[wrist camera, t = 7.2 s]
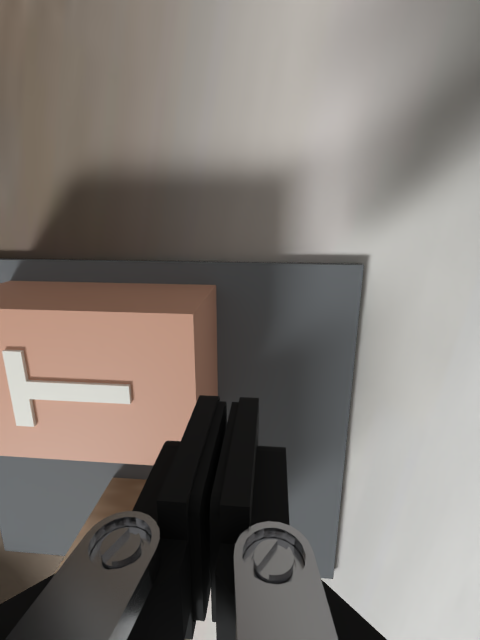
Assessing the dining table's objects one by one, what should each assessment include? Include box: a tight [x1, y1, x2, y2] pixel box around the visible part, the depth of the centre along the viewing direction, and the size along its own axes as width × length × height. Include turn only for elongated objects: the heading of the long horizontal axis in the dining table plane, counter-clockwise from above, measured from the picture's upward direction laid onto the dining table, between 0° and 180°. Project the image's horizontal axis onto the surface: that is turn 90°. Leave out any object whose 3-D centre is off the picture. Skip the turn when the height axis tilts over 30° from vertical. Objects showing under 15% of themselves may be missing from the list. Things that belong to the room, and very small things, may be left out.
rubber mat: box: [0, 259, 364, 579], centre depth 20 cm, size 20×18×1 cm
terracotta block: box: [0, 281, 218, 465], centre depth 16 cm, size 5×6×10 cm
